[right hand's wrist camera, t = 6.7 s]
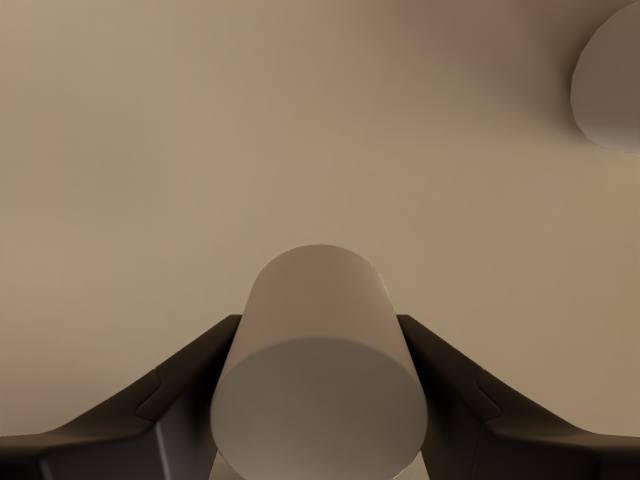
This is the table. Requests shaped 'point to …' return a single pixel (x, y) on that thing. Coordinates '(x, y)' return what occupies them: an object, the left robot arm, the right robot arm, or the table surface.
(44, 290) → the table surface
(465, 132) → the table surface
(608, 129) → the can
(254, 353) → the canister
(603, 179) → the table surface
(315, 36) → the table surface
